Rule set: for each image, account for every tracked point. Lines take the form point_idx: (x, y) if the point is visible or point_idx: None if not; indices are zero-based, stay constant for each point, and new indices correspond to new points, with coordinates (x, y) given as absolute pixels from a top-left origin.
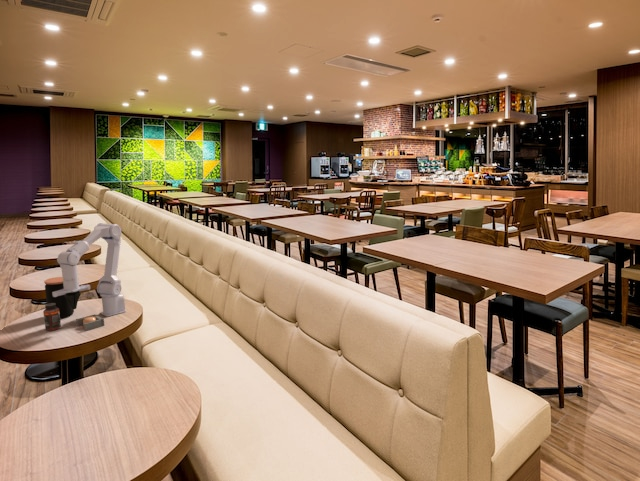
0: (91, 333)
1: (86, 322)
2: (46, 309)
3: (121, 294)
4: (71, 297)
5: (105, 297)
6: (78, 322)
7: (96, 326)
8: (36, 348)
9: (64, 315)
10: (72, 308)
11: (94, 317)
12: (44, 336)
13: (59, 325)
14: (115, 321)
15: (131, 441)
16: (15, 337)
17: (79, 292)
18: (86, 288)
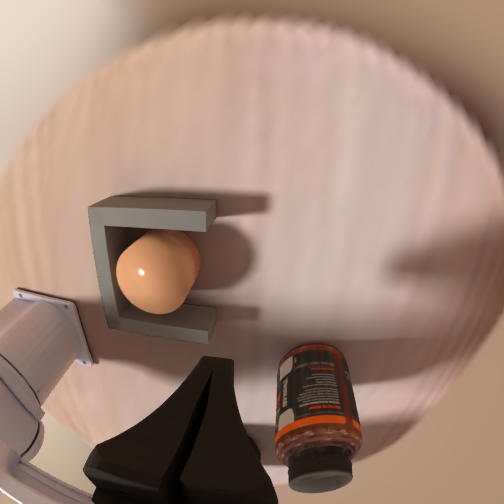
0: (214, 122)
1: (180, 254)
2: (349, 458)
3: None
4: (228, 469)
5: (19, 376)
6: (207, 319)
7: (148, 198)
8: (489, 180)
9: None
10: (233, 373)
11: (120, 273)
12: (395, 304)
13: (296, 356)
14: (59, 209)
15: None
16: (438, 374)
17: (95, 482)
18: (22, 472)
